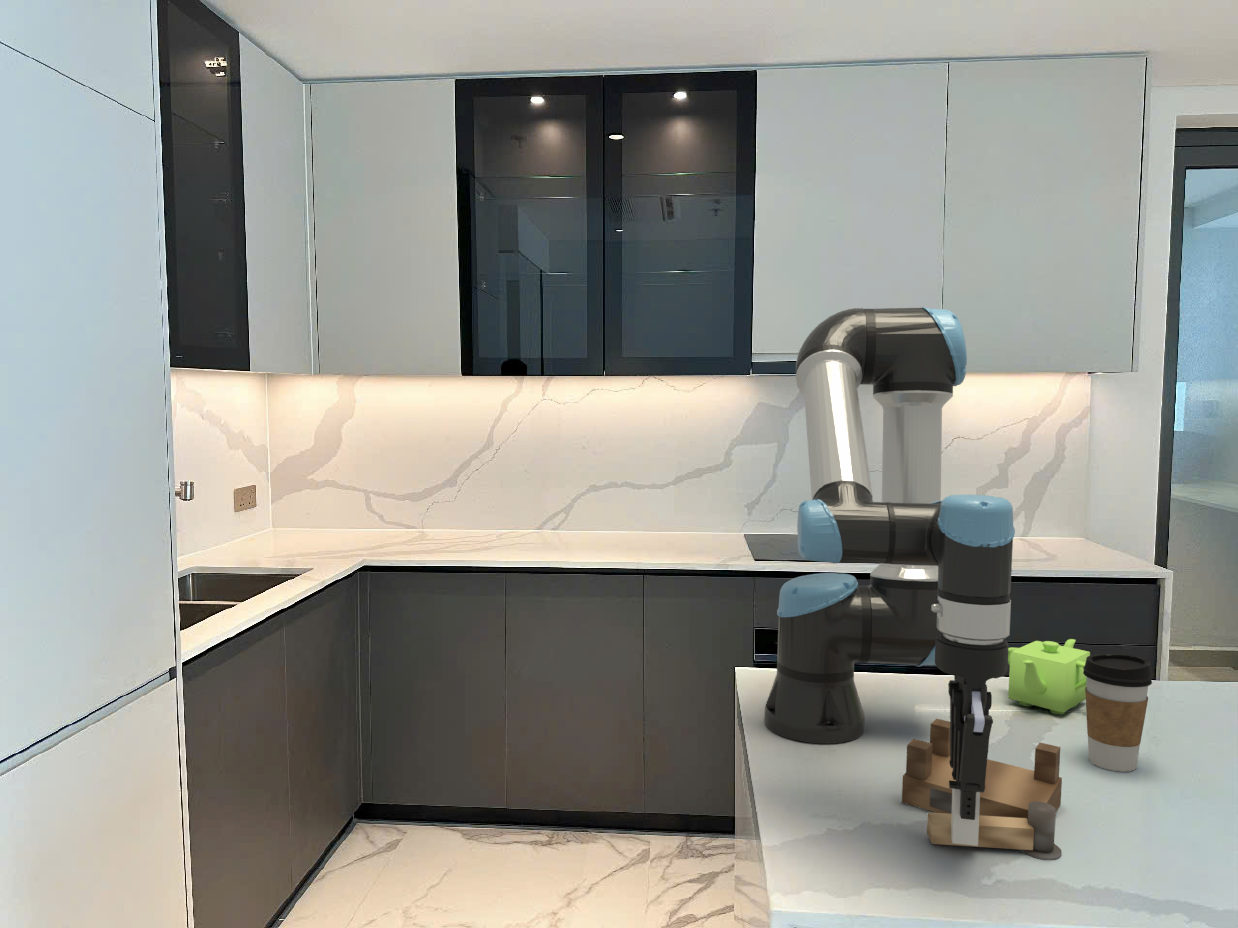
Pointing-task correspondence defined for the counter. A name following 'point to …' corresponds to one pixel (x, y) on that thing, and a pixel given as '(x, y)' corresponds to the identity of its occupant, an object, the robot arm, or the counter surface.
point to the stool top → (1003, 782)
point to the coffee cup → (1116, 708)
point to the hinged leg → (1003, 829)
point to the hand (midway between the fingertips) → (964, 841)
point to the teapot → (1047, 675)
